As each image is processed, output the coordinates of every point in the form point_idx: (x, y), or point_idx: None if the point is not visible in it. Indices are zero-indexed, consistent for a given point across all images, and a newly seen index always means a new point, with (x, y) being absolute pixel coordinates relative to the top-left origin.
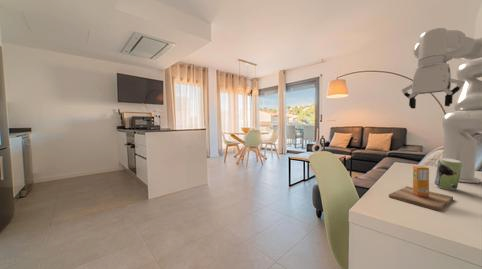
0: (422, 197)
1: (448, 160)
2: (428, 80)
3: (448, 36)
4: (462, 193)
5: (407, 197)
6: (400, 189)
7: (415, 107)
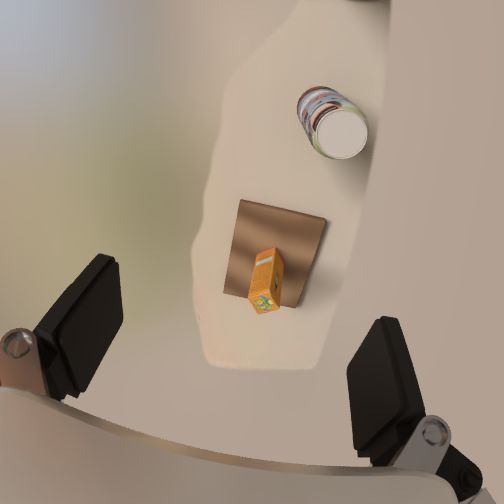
0: None
1: (335, 142)
2: None
3: None
4: None
5: None
6: (232, 243)
7: (115, 263)
